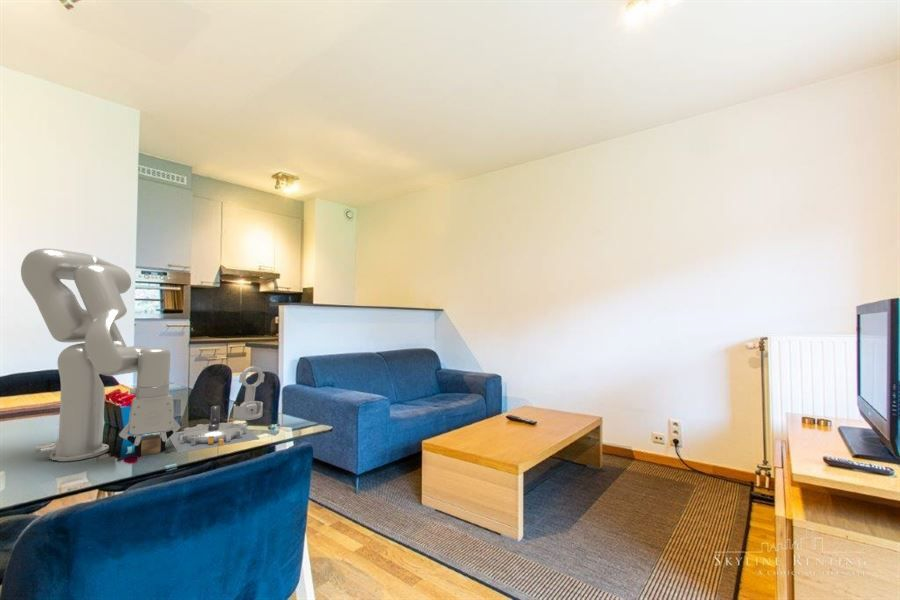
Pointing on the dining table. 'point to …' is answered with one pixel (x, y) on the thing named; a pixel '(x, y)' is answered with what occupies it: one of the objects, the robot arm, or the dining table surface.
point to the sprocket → (212, 430)
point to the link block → (150, 444)
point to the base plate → (188, 447)
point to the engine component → (249, 398)
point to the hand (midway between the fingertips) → (149, 455)
